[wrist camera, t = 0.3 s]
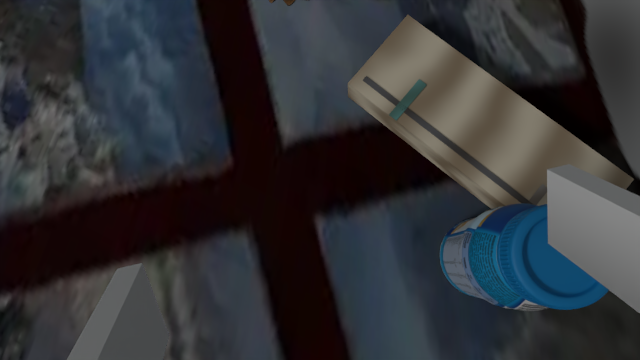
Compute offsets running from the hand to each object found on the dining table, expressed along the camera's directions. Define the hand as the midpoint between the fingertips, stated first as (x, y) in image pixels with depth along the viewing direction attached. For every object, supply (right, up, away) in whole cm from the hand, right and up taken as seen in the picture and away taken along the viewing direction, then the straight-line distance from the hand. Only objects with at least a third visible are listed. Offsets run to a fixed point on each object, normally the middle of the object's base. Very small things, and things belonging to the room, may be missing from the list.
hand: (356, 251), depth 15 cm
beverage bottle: (+15, -6, +34) cm, 38 cm away
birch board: (+16, +7, +36) cm, 40 cm away
